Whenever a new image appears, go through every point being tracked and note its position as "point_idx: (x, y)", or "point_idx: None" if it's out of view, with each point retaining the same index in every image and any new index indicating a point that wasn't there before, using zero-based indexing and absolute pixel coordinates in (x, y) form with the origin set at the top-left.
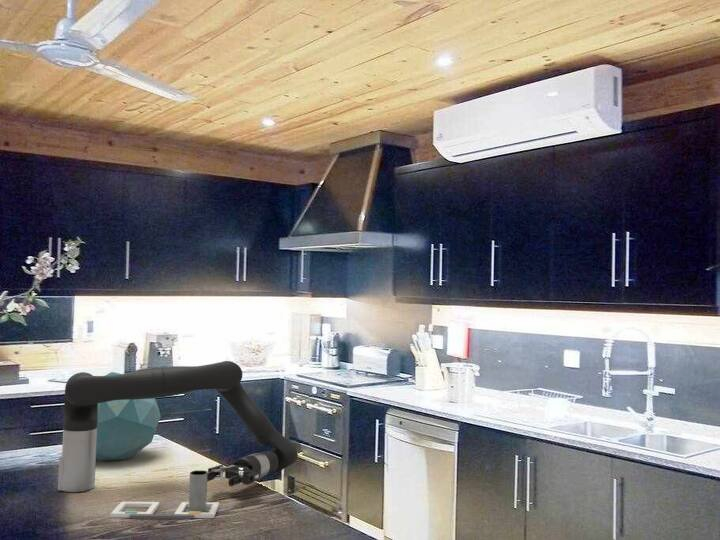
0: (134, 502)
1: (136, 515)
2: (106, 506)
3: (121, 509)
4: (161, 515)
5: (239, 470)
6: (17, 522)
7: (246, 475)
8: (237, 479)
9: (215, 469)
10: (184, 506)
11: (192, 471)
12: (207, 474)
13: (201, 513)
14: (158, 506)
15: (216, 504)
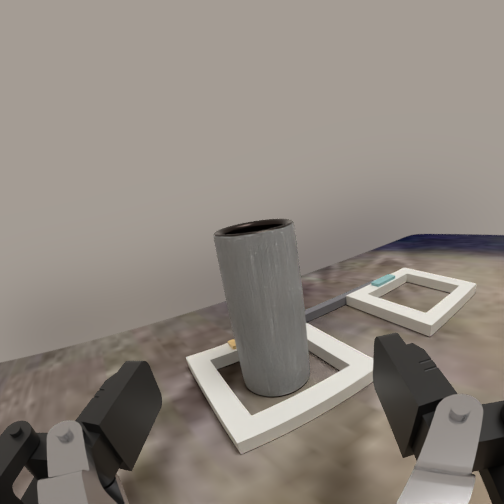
0: (458, 294)
1: (363, 285)
2: (479, 280)
3: (428, 281)
4: (319, 305)
5: (78, 497)
6: (448, 236)
7: (25, 426)
8: (96, 399)
9: (475, 433)
10: (329, 351)
11: (289, 220)
12: (379, 346)
13: (226, 346)
14: (421, 332)
15: (231, 418)
